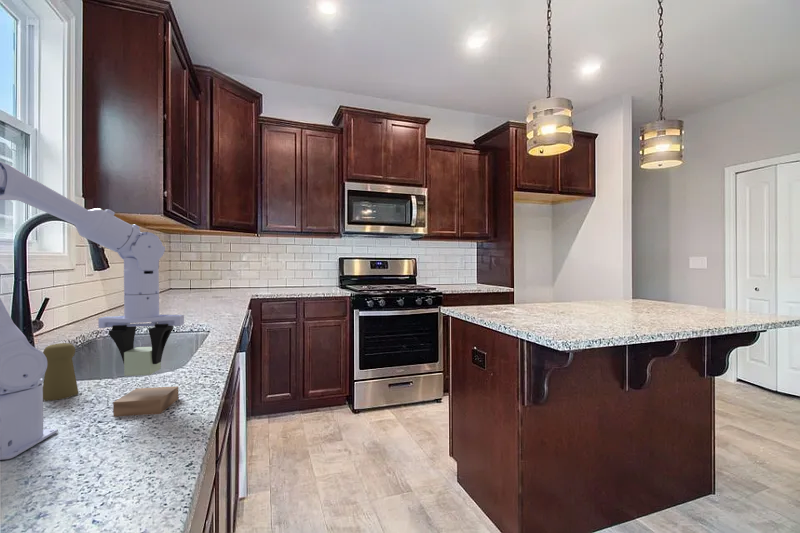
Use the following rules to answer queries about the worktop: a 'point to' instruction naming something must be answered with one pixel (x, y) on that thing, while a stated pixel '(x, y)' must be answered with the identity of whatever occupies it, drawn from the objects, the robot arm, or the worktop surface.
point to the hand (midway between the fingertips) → (142, 363)
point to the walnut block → (146, 401)
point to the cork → (59, 372)
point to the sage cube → (139, 362)
